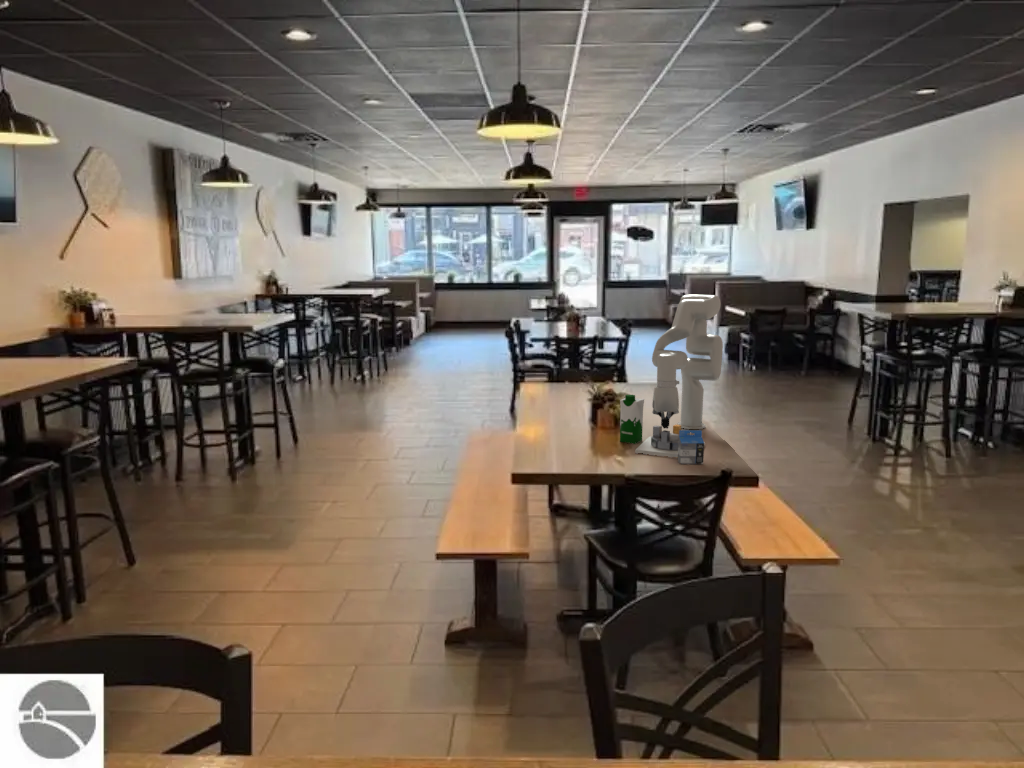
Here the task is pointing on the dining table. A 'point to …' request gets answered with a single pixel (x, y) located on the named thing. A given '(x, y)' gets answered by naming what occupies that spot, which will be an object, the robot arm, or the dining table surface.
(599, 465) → the dining table surface
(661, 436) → the ring nut
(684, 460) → the label tape cartridge
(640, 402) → the milk carton
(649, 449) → the cap base
